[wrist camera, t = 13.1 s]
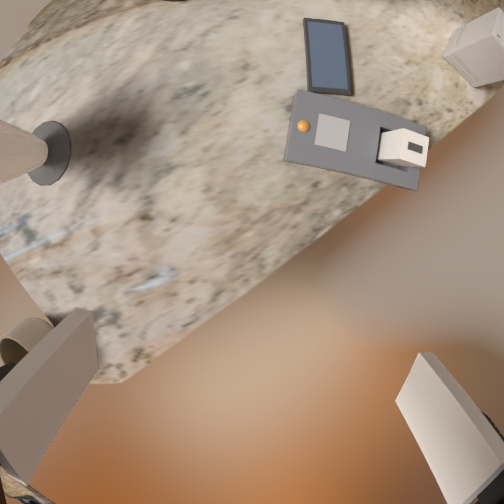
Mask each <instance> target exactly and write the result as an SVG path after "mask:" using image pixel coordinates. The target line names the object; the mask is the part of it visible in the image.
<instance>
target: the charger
mask: <svg viewBox="0 0 504 504" xmlns="http://www.w3.org/2000/svg"><path fill="white" fill-rule="evenodd" d="M428 144H429V137H426V136H424V135H421V134H419V133H416V132H413V131H410V130H408V129H405V128H402V129H397V130H393V131H389V132H384V133H380V134H379V141H378V148H377V155H376V161H379V162H382V163H386V164H389V165H393V166H406V167H425V166H426V160H427V152H428Z"/></svg>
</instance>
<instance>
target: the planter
mask: <svg viewBox="0 0 504 504" xmlns="http://www.w3.org/2000/svg"><path fill="white" fill-rule="evenodd" d="M53 329H54V328H53V327H52V326H51V325H50V324H49V323H47V322H46V321H44V320H42V319H39V318H28V319H25V320H23V321H21V322H20V323H18V324H17V325H16V326H14V327H13V328H12V329H10V330H9V331H8V332H7V333H5V334H4V335H3V336H2V337H1V338H0V358H1V360H2V363H3V365H6V364H8V363H10V362H14V363H16V364H18V363H19V362H20V361H21V360H22V359H23V358H24V357H25V356H26V355H27V354H28V353H29V352H30V351H31V350H32V349H33V348H34V347H35V346H36V345H37V344H38V343H39V342H40V341H41V340H42V339H43V338H44V337H45V336H46V335H47V334H48V333H49V332H50V331H52V330H53Z"/></svg>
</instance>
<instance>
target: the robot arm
mask: <svg viewBox="0 0 504 504" xmlns="http://www.w3.org/2000/svg"><path fill="white" fill-rule="evenodd" d="M165 1H183V0H165ZM98 369H99V363H98V356H97V349H96V340H95V331H94V321H93V312H92V311H88V310H84V309H80V308H77V307H76V308H75V309H74V310H73V311H72V312H71V313H70V314H69V315H68V316H67V317H65V318H64V319H63V320H62V321H61V322H60V323H59V324H58V325H57V326H56V327H55V328H54V329H53V330H52V331H50V332H49V333H48V334H47V335H46V336H45V337H44V338H43V339H42V340H41V341H40V342H39V343H38V344H37V345H36V346H35V347H34V348H33V349H32V350H31V351H30V352H29V353H28V354H27V355H26V356H25V357H24V358H23V359H22V360H21V361H20V362H19V363H18V364H16V363H14V362H10V363H8V364H6V365H4V366H2V367H0V465H1V466H2V467H3V469H4V470H5V471H6V473H7V474H8V475H9V476H11V477H12V478H14V479H16V480H17V481H19V482H21V483H22V484H24V485H26V486H27V485H28V483H29V481H30V479H31V478H32V476H33V474H34V472H35V470H36V469H37V467H38V465H39V463H40V462H41V460H42V458H43V456H44V455H45V453H46V451H47V450H48V448H49V446H50V444H51V443H52V441H53V439H54V438H55V436H56V435H57V433H58V431H59V430H60V428H61V426H62V425H63V423H64V421H65V420H66V418H67V416H68V415H69V413H70V412H71V410H72V409H73V407H74V406H75V404H76V402H77V401H78V399H79V398H80V396H81V395H82V393H83V392H84V390H85V389H86V387H87V386H88V384H89V382H90V381H91V379H92V378H93V376H94V375H95V373H96V372H97V370H98ZM395 401H396V403H397V405H398V407H399V409H400V411H401V412H402V414H403V416H404V418H405V420H406V422H407V424H408V425H409V427H410V429H411V431H412V433H413V435H414V437H415V439H416V441H417V442H418V445H419V446H420V448H421V450H422V452H423V454H424V456H425V458H426V460H427V462H428V464H429V466H430V468H431V470H432V472H433V474H434V476H435V478H436V480H437V482H438V484H439V486H440V489H441V491H442V493H443V495H444V497H445V499H446V501H447V503H448V504H469V503H470V502H471V501H472V500H473V499H474V498H475V497H477V498H478V500H479V501H477V502H476V503H475V504H504V437H503V435H502V434H500V432H499V430H498V429H497V427H495V425H494V423H493V422H492V421H491V419H490V418H489V417H488V416H487V415H486V414H484V413H483V412H482V411H480V410H479V408H478V407H477V406H476V405H475V403H474V402H473V401H472V400H471V398H470V397H469V396H468V395H467V393H466V392H465V391H464V390H463V388H462V387H461V386H460V385H459V383H458V382H457V381H456V380H455V379H454V377H453V376H452V375H451V374H450V373H449V372H448V370H447V369H446V368H445V367H444V365H443V364H442V363H441V362H440V361H439V360H438V358H437V357H436V356H435V355H434V354H433V353H432V352H419V353H418V356H417V358H416V360H415V362H414V365H413V366H412V369H411V371H410V373H409V375H408V377H407V379H406V381H405V383H404V385H403V387H402V389H401V391H400V393H399V395H398V396H397V398H396V400H395ZM0 504H7V503H6V499H5V495H4V491H3V487H2V483H1V478H0Z"/></svg>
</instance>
